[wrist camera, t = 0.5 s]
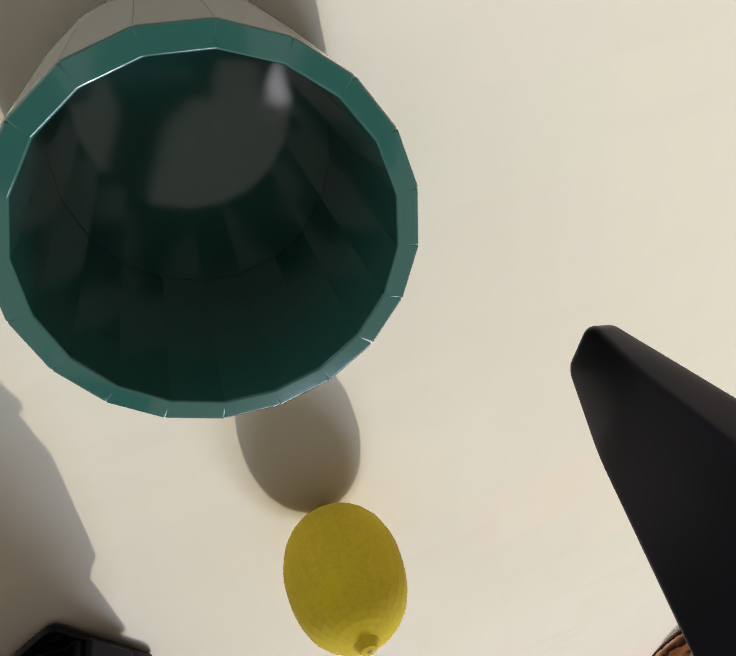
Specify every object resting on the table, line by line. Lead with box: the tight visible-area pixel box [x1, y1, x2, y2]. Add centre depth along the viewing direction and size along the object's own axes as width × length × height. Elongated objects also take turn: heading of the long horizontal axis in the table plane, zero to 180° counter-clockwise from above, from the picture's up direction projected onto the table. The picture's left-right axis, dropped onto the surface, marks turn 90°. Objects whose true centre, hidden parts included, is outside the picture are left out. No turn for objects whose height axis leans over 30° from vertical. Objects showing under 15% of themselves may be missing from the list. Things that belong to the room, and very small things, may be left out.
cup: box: [0, 0, 418, 418], centre depth 19 cm, size 10×10×8 cm
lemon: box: [283, 503, 407, 656], centre depth 30 cm, size 6×6×8 cm
